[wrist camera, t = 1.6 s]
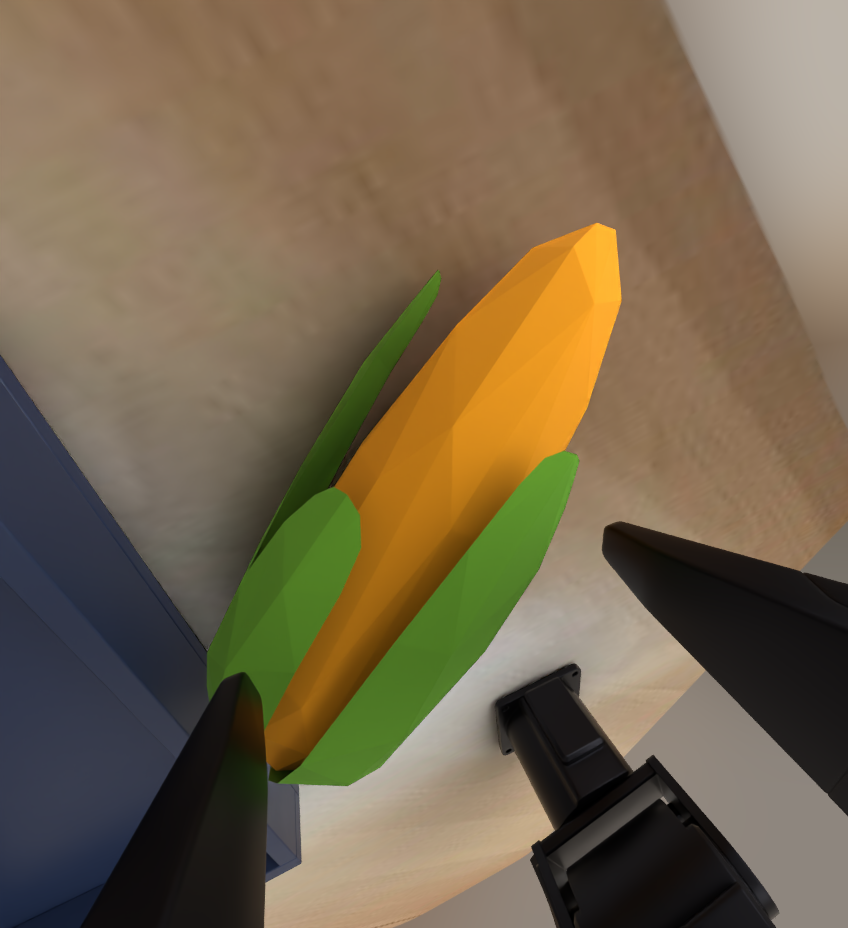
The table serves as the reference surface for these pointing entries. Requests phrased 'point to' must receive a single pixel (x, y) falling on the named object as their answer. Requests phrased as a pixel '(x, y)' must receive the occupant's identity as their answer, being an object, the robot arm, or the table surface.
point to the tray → (85, 684)
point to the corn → (420, 517)
